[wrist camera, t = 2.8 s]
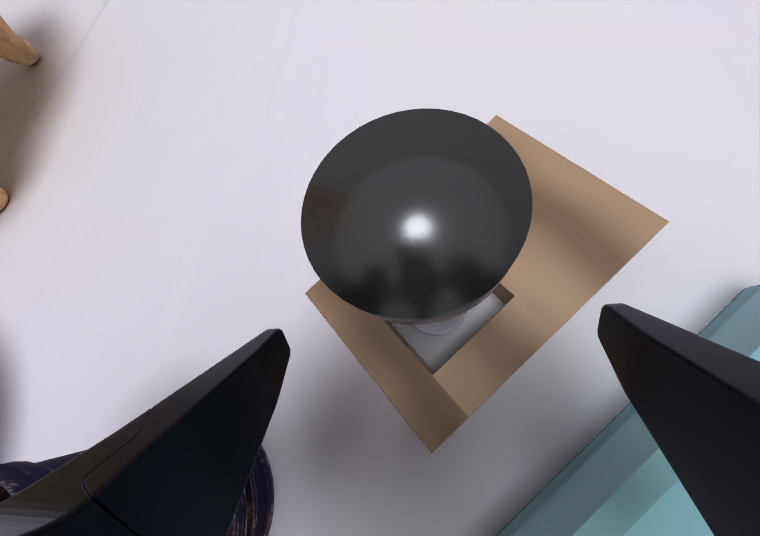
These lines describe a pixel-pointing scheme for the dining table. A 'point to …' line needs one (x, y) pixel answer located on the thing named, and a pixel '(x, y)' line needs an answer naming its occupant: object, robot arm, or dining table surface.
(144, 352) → the dining table surface
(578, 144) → the dining table surface
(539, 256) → the block
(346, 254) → the pin
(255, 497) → the storage jar
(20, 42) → the decorative bowl
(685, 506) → the tray
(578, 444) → the dining table surface
